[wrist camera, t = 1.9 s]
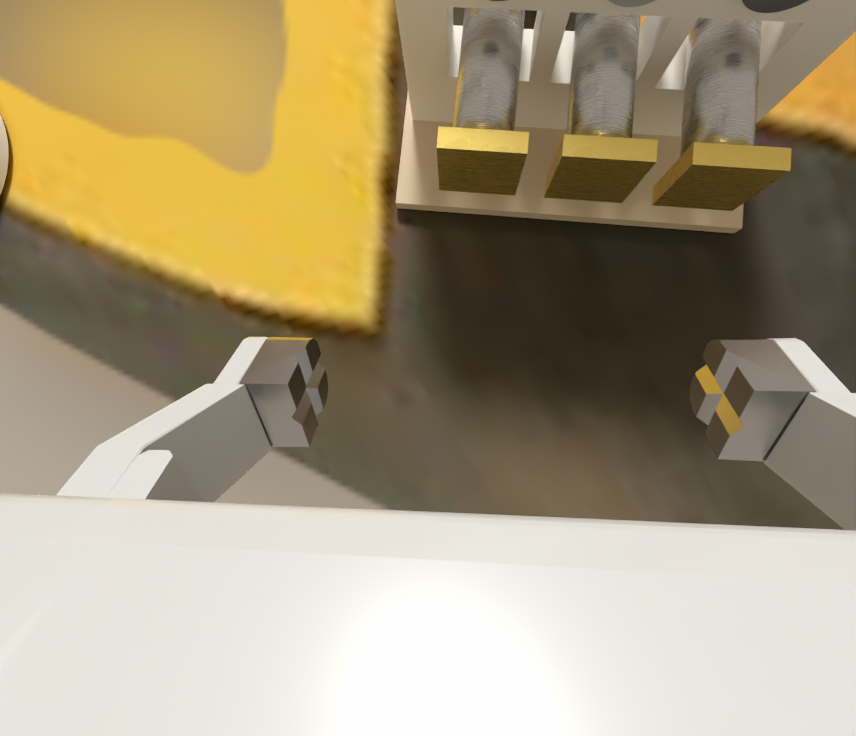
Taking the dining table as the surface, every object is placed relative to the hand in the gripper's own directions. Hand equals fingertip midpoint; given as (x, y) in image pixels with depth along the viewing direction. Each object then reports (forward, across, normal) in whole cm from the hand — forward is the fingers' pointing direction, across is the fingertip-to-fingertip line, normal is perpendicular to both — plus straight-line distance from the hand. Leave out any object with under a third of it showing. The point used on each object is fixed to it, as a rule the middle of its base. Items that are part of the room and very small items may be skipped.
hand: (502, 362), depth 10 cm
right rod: (+20, -11, -1) cm, 23 cm away
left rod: (+20, 0, -2) cm, 20 cm away
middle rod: (+20, -5, -1) cm, 21 cm away
